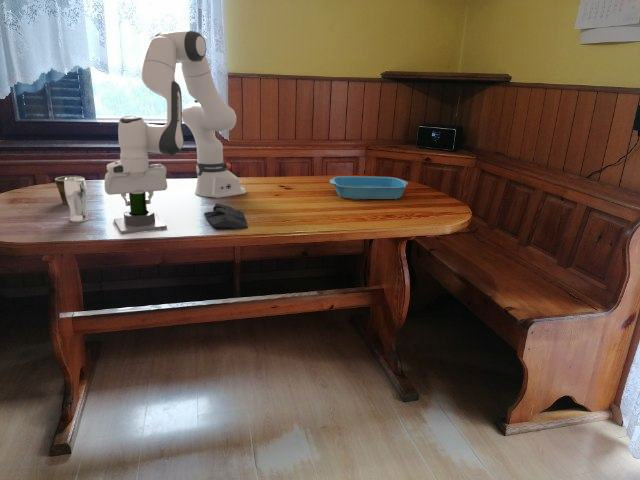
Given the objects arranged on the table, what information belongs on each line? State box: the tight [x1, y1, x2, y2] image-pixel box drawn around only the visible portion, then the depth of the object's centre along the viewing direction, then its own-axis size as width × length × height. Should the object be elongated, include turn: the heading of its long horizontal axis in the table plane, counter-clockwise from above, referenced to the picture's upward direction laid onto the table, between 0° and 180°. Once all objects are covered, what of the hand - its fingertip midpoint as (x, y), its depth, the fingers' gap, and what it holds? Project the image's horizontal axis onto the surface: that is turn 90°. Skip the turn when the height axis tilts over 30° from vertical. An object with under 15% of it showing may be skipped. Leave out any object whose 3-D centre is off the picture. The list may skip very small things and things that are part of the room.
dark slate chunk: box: [203, 202, 249, 230], centre depth 180 cm, size 15×22×5 cm
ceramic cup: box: [54, 175, 82, 206], centre depth 194 cm, size 13×10×10 cm
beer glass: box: [64, 176, 90, 223], centre depth 172 cm, size 7×7×15 cm
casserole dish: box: [329, 175, 409, 200], centre depth 227 cm, size 37×22×7 cm, turn 96°
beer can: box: [128, 190, 148, 216], centre depth 169 cm, size 5×5×12 cm
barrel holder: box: [113, 208, 168, 235], centre depth 171 cm, size 15×15×5 cm
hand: (138, 204), depth 169 cm, fingers closed on beer can, 5 cm apart
